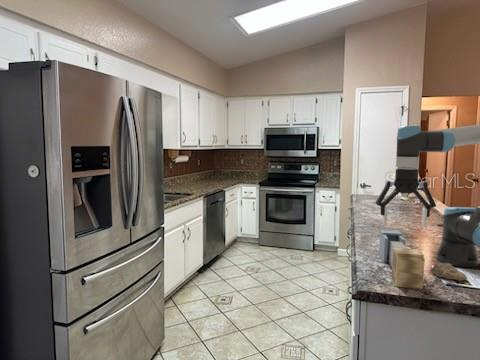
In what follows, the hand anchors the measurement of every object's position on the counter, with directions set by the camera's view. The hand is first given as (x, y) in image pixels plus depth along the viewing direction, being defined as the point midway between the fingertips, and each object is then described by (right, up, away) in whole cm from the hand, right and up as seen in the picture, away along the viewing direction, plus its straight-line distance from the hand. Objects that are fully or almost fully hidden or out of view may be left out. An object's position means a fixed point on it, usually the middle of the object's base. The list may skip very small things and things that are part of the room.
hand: (404, 224), depth 124 cm
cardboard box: (-2, -20, -6) cm, 21 cm away
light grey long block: (0, -19, +3) cm, 19 cm away
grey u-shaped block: (+3, -17, +18) cm, 25 cm away
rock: (+16, -20, -1) cm, 25 cm away
